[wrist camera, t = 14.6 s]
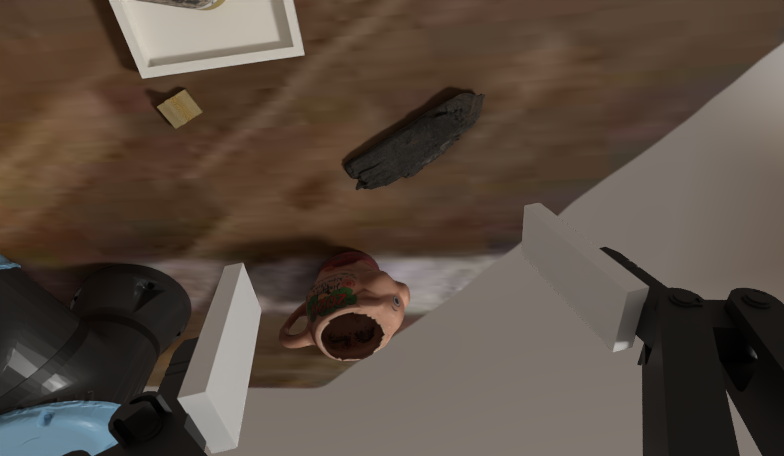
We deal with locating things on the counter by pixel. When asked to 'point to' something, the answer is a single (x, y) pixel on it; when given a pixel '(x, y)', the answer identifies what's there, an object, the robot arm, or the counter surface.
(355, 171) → the wood
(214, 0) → the paper tube
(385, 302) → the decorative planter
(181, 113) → the tan short block
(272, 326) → the counter surface
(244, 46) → the ceramic dish
